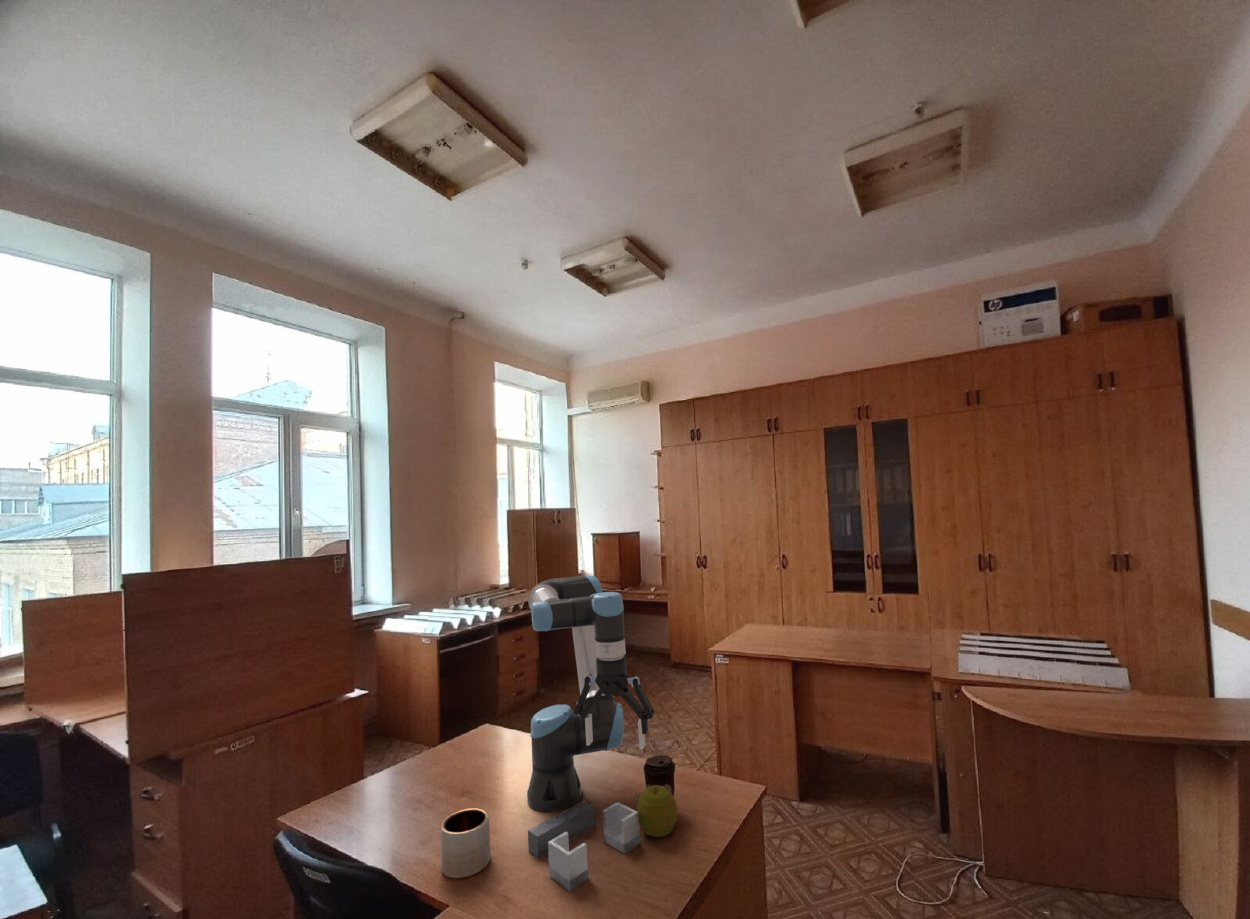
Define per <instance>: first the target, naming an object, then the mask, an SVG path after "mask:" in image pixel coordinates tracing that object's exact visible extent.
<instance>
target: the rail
mask: <svg viewBox="0 0 1250 919" xmlns="http://www.w3.org/2000/svg"><path fill="white" fill-rule="evenodd" d="M595 819H596V817H595V806H594V805H593V804H591V803H589V802H587V801H585V800H583V801H581V802H579V803H576V805H575V804H574V806H573V805H572V807H571V806H570V808H567V809H565V810H564V811H562V812H560V813H558V814H556V815H554V816H553V817H550V818H548V819H547V820H544V821H543V822H541V823H539V824H537V825H535V826H533V827H532V828H529V829H527V839H528V840H527V843H528V853H530V854H531V855H532V856H534V858H536V859H537V860H539V859H541V858H543V857H544V856H546V855H549V854H548V842H549V841H551V840H552V839H554V838H556V837H558V836H559V835H561V834H563V833H565V832H567V833H568V839H569V842H570V841H572V840H574V839H575V838H577V837H579V836H580V835H583V834H585V833H587V832H588V831H589V830H591V829H593V828H595V827H596V821H595Z"/></svg>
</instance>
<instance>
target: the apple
mask: <svg viewBox="0 0 1250 919" xmlns="http://www.w3.org/2000/svg"><path fill="white" fill-rule="evenodd" d="M677 805H678V804H677V801H676V799H675V797H673V795H672V794H671V793H670V792H669V791H668V790H667V789H666V788H664V787H663V786H659V785H653V786H651V787H649V788H647V789H646V788H645V790H643V792H641V794H640V795H639V797H638V801H637V804H636V811H637V812H638V817H639V826H641V828H642V830H643V832H644V833H645V834H646V835H647V836H650V837H653V838H654V837H655V838H664V837H666V836H667V835H669V834H670V833H672V831H673V829H674V828H675V825H676V823H677V820H678V806H677Z"/></svg>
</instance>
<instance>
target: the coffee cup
mask: <svg viewBox="0 0 1250 919" xmlns="http://www.w3.org/2000/svg"><path fill="white" fill-rule="evenodd" d="M675 773H676V763H675V762H673V758H672V757H670V756H669V755H663V754H658V755H654V756H652V757H649V758H647V759H646V760H645V763H644V765H643V774H644V781H645V790H646V789H647V788H649V787H651V786H653V785H659V786H663V787H664V788H666V789H667V790H668V791H669V792H670V793H671V794H672V795H673V797H674V796H675V787H676V786H675ZM674 798H675V797H674Z"/></svg>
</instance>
